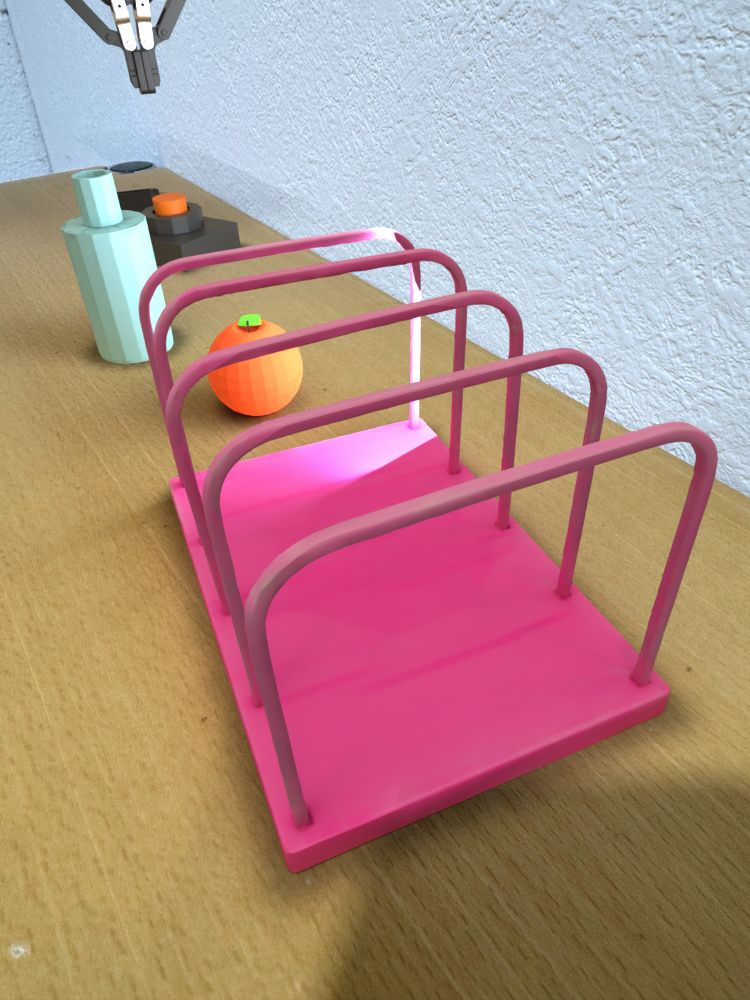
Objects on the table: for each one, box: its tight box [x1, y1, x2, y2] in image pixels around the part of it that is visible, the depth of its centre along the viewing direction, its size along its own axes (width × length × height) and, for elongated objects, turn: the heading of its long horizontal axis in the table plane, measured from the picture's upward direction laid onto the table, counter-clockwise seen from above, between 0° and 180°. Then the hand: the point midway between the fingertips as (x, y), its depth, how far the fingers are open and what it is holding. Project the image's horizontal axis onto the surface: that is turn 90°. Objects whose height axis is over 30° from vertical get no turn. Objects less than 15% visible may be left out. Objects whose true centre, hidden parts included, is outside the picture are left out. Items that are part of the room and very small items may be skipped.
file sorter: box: [138, 227, 719, 874], centre depth 33 cm, size 17×25×16 cm
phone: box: [116, 187, 161, 213], centre depth 94 cm, size 8×1×15 cm
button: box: [152, 192, 188, 216], centre depth 78 cm, size 4×4×2 cm
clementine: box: [206, 313, 304, 417], centre depth 51 cm, size 8×7×7 cm
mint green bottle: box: [61, 168, 175, 365], centre depth 57 cm, size 6×6×14 cm
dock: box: [141, 201, 242, 273], centre depth 80 cm, size 11×9×5 cm
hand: (147, 92), depth 71 cm, fingers closed
